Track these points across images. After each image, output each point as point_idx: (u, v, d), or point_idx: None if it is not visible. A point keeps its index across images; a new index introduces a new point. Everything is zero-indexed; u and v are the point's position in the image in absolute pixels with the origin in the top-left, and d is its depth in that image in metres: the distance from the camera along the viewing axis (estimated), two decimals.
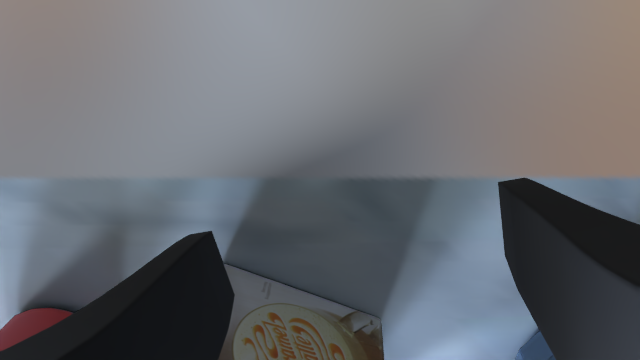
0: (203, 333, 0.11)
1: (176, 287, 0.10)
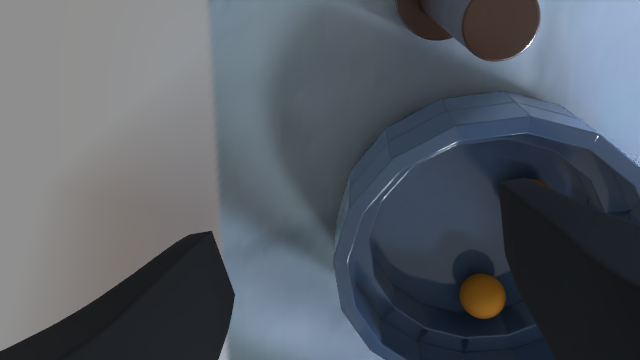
0: (203, 333, 0.11)
1: (176, 287, 0.10)
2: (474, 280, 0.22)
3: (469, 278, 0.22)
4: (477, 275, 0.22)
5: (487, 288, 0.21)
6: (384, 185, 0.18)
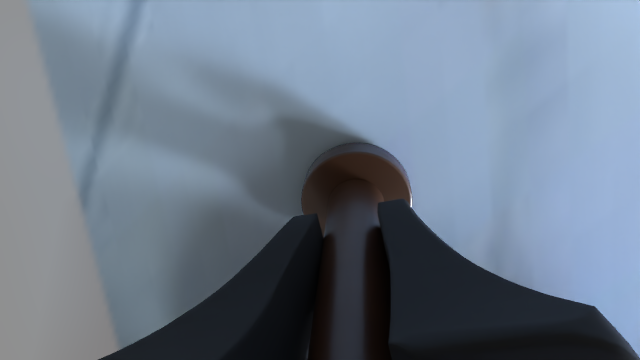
0: None
1: (302, 268, 0.10)
2: None
3: None
4: None
5: None
6: None
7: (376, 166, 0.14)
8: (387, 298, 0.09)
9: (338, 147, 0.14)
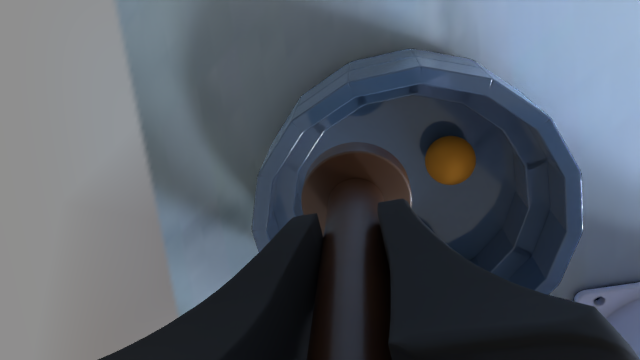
0: None
1: (302, 268, 0.10)
2: None
3: None
4: None
5: None
6: (288, 149, 0.18)
7: (376, 165, 0.14)
8: (387, 297, 0.09)
9: (338, 146, 0.14)
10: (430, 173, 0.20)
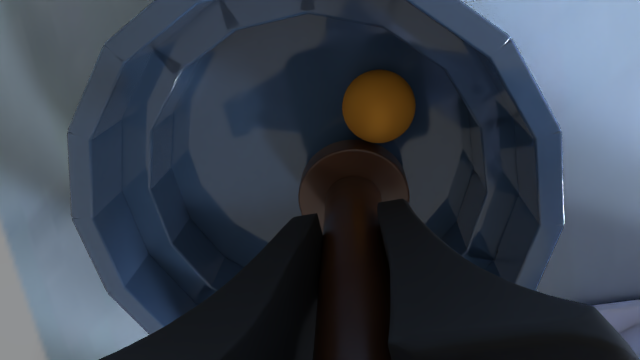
0: None
1: (302, 268, 0.10)
2: None
3: None
4: None
5: None
6: (106, 90, 0.11)
7: (374, 163, 0.14)
8: (390, 300, 0.09)
9: (336, 144, 0.14)
10: (350, 121, 0.13)
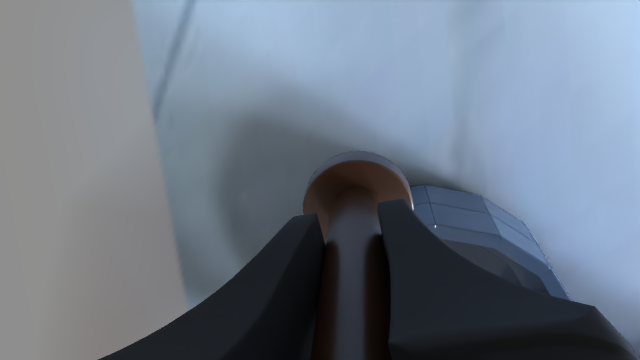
0: None
1: (302, 268, 0.10)
2: None
3: None
4: None
5: None
6: None
7: (390, 183, 0.14)
8: None
9: (358, 153, 0.14)
10: None
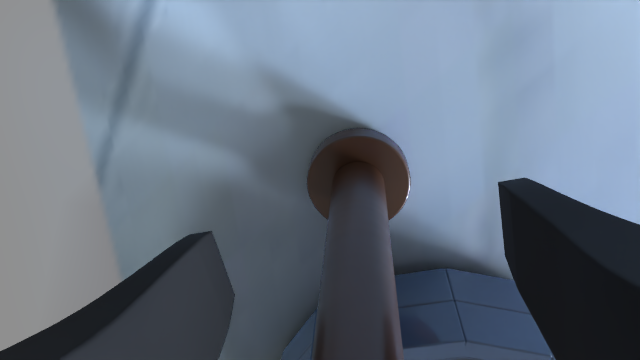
0: (203, 333, 0.11)
1: (176, 287, 0.10)
2: None
3: None
4: None
5: None
6: None
7: (388, 157, 0.15)
8: (393, 271, 0.11)
9: (358, 129, 0.15)
10: None
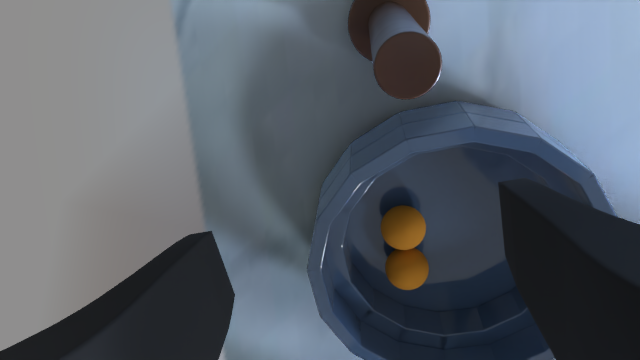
0: (203, 333, 0.11)
1: (176, 287, 0.10)
2: (424, 274, 0.22)
3: (422, 282, 0.22)
4: (418, 281, 0.22)
5: (419, 262, 0.22)
6: (346, 198, 0.19)
7: None
8: None
9: None
10: (419, 213, 0.22)
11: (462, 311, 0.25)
